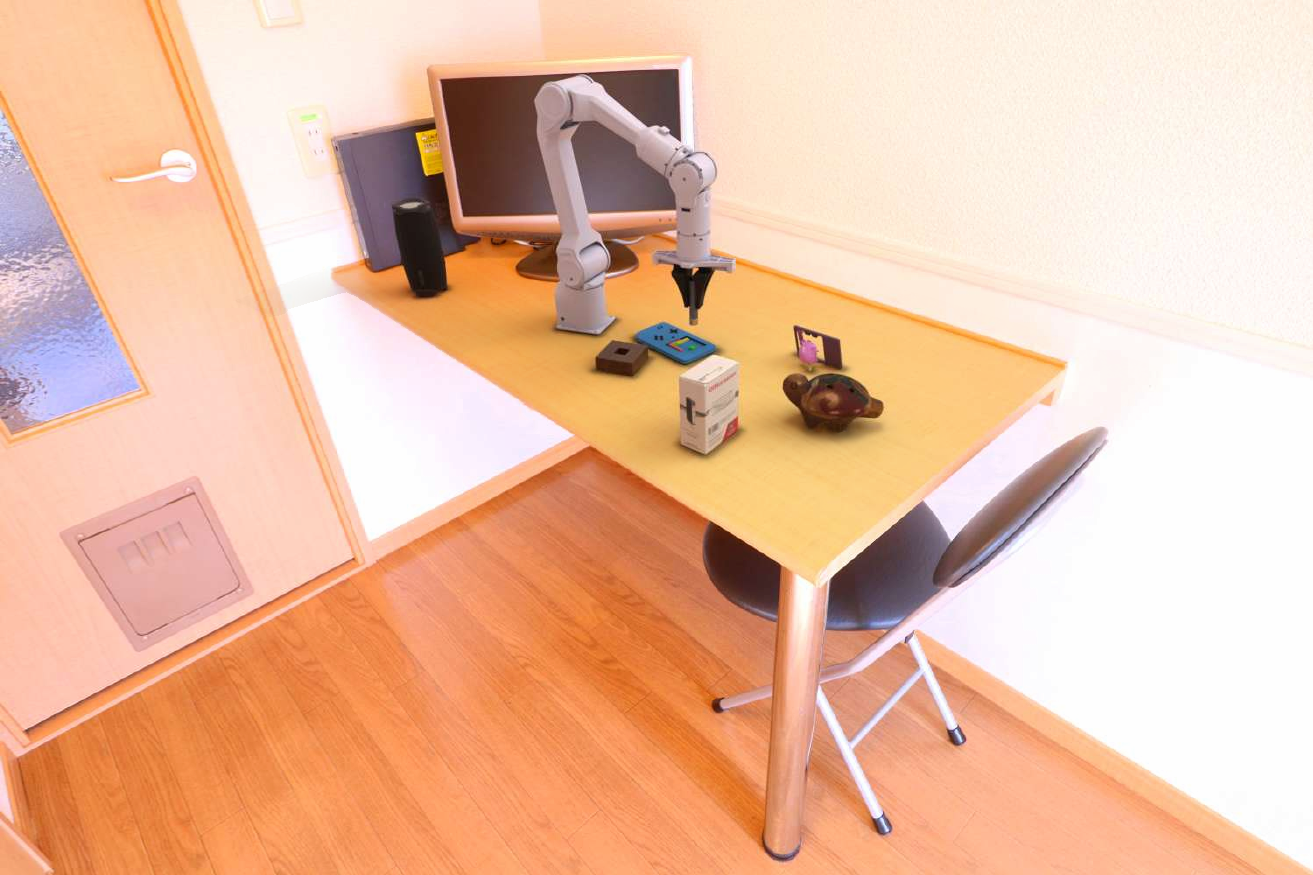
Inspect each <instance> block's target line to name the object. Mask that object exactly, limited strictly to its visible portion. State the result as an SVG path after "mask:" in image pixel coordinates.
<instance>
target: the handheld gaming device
mask: <svg viewBox="0 0 1313 875" xmlns="http://www.w3.org/2000/svg"><path fill="white" fill-rule="evenodd" d="M635 335H636V336H635V337H636V338H635V339H636V341H637V342H638V343H639V344H641V345H648V348H650V349H652V350H654V351H656V352H658V353H660V354H662V355H664V356H666V357H669V359H672V360H674V361H676V362H678V363H680V364H683V365H687V364H688V365H689V364H691V363H693V362H694V361H696V360H699V359H701V358H703V357H706V356H708V355H710V354H712V353H714V352H716V351H717V345H716V344H714V343H712V342H710V341H708V340H705V339H703V338H701V337H700V336H697V335H694V334H692V333H690V332H688V331H686V330H684V329H681V328H679V327H677V326H674V325H672V324H671V323H668V322H666V321H661V322H659V323H656V324H654V325H651V326H649V327H646V328H644V329H641V330H639V331H637V333H636V334H635Z"/></svg>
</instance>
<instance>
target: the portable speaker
mask: <svg viewBox="0 0 1313 875" xmlns="http://www.w3.org/2000/svg"><path fill="white" fill-rule="evenodd" d="M391 210H392V216H393V224H394V233H395V238H396V241H397V246H398V250H399V254H400V258H401V263H402V267H403V270H404V273H405V275H406V279H407V281H408V284H409V287H410V289H411V291H413V293H414V294H415V295H416V296H417V297H419V298H431V297H436V294H437V293H438V292H440V291H442V290H444V291H447V290H448V276H447V266H446V258H445V254H444V250H443V249H444V248H443V244H442V239H441V234H440V230H439V226H438V222H437V219H436V217H435V213H434V210H433V207H432V204H431V201H430V200H427V199H425V198H422V197H420V196H410V197H406V198H402V199H401V200H400V201H398V202H395V203H392V204H391Z"/></svg>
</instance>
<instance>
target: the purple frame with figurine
mask: <svg viewBox="0 0 1313 875" xmlns="http://www.w3.org/2000/svg"><path fill="white" fill-rule="evenodd" d="M792 328H793V334H794V342H795V346H796V353H797V355H798V356H799V359H800V360H801V361H802V363H803V364H805V365H808V372H812V370H813V365H814V364H815V363H816V362H818V363H823V364H825V365H828V366H831V367H834V368H836V369H839V370H842V369H843V367H844V366H843V356H842V355H843V354H842V344H841V339H840V338H838V337H835V336H831V335H828V334H825V333H821V332H818V331H815V330H812V329H809V328H806V327H803V326H802V325H800V326H799V325H796V324H795V325H793V327H792ZM803 334H805V335H806V336H812V338H815V339H818V338H819V337H820V338H821V341H822V349H823V358H824V359H821V358H819V357H817V356H818V354H817V353H819V352H820V350H819V349H818V346H817V345H816V343H815V342H813V341H811V340H809V339H804V335H803Z"/></svg>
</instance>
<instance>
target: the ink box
mask: <svg viewBox="0 0 1313 875" xmlns="http://www.w3.org/2000/svg"><path fill="white" fill-rule="evenodd" d="M739 381H740V363H739V362H738V361H736V360H733V359H731V358H726V357H723V356H720V355H716V354H712V355H710V356H709V357H707V358H705V359H704V360H703V361H700V362H699V363H697V364H696V365H694V366H693V367H691V368H689V369H688V370H687V371H685V372H683V373H682V374H680V375H678V393H679V394H678V395H679V427H680V428H679V431H680V444H681V445H682V446H684V447H687V448H689V449H691V450H693V451H696V452H698V453H700V454H702V455H707V454H709V453H710V452H711V451H712V450H714V449H715V448H716V447H717V446H719V445H721V443H723V442H724V441H725V440H727V439H728V438H729V437H731V436H732V435H733V434H734V433H736V432H737V431H738V430H739V388H740V386H739V384H740V382H739Z"/></svg>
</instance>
